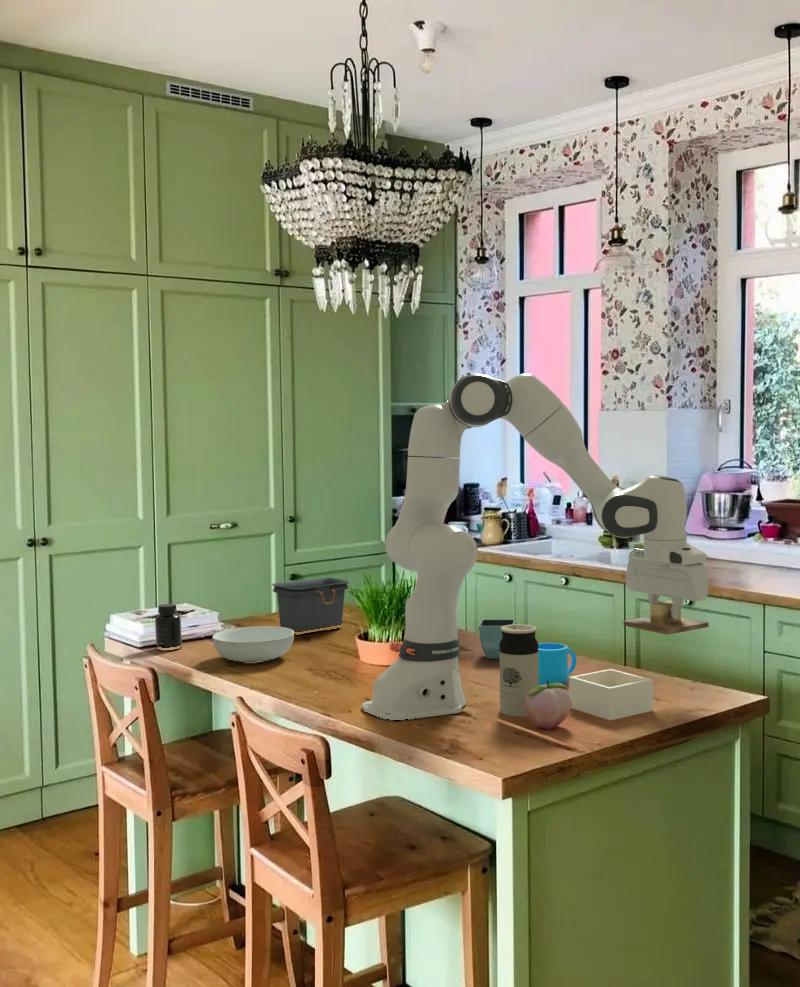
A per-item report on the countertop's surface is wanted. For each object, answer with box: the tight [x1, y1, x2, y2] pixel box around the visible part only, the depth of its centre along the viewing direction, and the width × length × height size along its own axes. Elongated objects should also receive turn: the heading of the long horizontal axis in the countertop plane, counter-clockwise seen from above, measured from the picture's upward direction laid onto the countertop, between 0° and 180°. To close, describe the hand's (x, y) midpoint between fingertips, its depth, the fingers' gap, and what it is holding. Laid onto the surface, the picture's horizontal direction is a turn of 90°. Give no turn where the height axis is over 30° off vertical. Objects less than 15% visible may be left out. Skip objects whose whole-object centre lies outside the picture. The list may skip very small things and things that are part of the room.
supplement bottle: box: [154, 603, 183, 648], centre depth 291 cm, size 7×7×12 cm
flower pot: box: [478, 618, 516, 660], centre depth 274 cm, size 9×9×9 cm
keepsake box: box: [568, 668, 654, 721], centre depth 222 cm, size 12×12×7 cm
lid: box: [623, 600, 710, 636], centre depth 228 cm, size 12×12×5 cm
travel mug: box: [499, 623, 539, 718], centre depth 221 cm, size 8×8×18 cm
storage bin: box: [271, 577, 350, 632], centre depth 312 cm, size 21×16×14 cm
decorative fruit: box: [525, 680, 572, 730], centre depth 210 cm, size 9×8×10 cm
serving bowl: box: [212, 625, 295, 663], centre depth 277 cm, size 21×21×7 cm
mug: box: [538, 642, 578, 685], centre depth 249 cm, size 12×8×8 cm
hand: (665, 616), depth 228 cm, fingers closed on lid, 3 cm apart
